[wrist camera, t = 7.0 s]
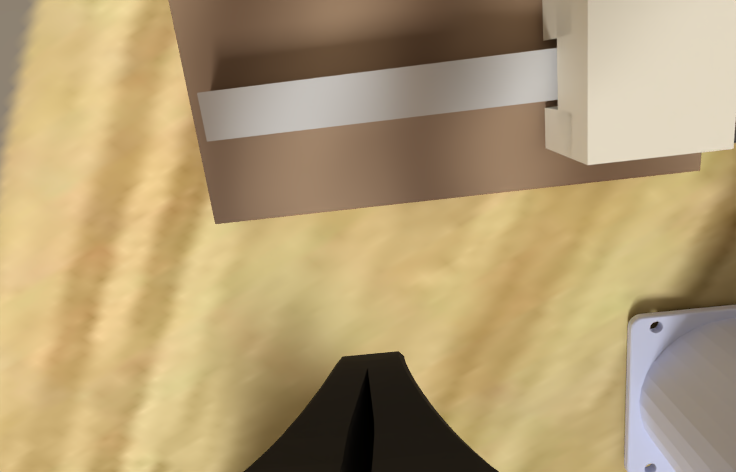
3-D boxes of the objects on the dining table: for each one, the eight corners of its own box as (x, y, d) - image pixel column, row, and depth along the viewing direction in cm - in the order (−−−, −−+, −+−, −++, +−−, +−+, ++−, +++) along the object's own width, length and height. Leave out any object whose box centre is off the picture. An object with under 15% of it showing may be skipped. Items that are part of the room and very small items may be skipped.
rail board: (694, -67, 18) (780, -108, 14) (681, 165, 20) (753, 185, 16) (181, 2, 19) (129, -18, 15) (224, 216, 21) (189, 246, 17)
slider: (667, -21, 17) (749, -50, 13) (660, 134, 18) (733, 148, 14) (542, -5, 17) (587, -29, 13) (545, 148, 18) (587, 165, 15)
